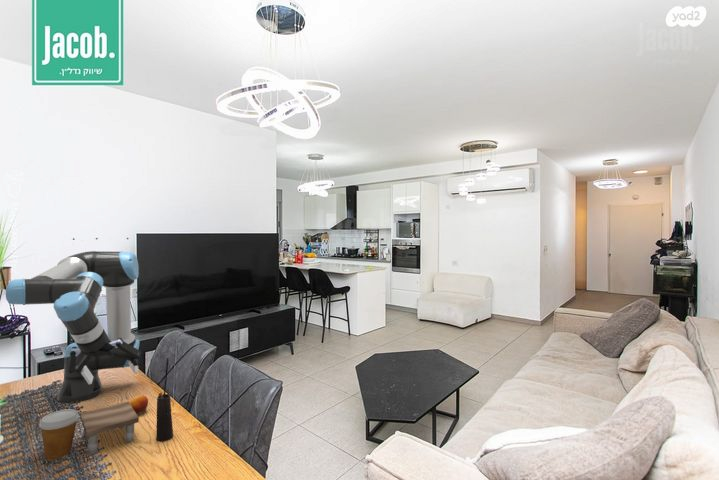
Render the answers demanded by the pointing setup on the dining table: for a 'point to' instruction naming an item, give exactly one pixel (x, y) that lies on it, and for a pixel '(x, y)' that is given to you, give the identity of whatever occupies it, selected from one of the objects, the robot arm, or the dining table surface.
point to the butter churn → (164, 415)
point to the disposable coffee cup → (58, 433)
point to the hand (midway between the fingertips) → (114, 375)
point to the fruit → (139, 403)
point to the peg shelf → (108, 423)
